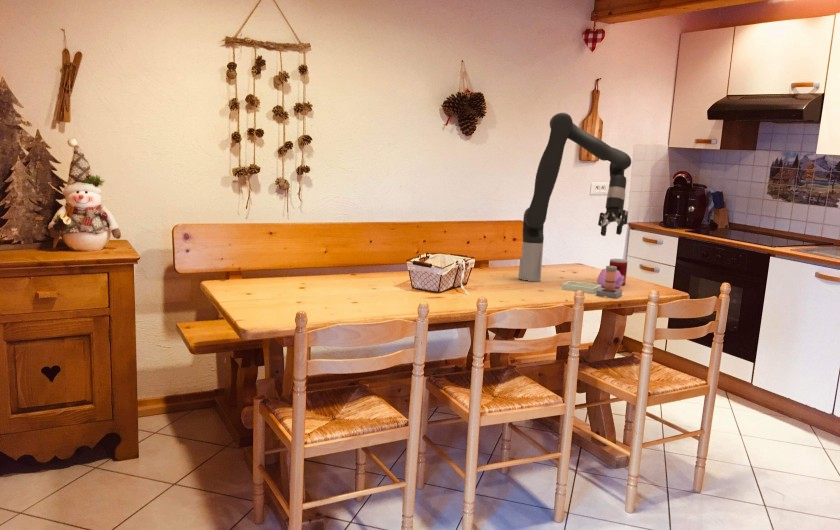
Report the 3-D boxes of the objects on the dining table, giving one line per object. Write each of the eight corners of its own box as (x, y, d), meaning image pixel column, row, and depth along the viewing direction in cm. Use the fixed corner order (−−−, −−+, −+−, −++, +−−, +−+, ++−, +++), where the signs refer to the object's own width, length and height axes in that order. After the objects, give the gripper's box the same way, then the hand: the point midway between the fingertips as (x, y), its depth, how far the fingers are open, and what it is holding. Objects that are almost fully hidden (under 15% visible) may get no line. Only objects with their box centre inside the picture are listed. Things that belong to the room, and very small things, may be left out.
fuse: (602, 295, 288) (604, 266, 286) (605, 294, 291) (607, 265, 289) (612, 297, 286) (615, 267, 284) (615, 295, 289) (618, 266, 287)
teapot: (609, 284, 317) (611, 264, 315) (631, 291, 303) (633, 270, 302) (590, 285, 313) (592, 264, 311) (611, 292, 299) (613, 271, 298)
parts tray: (561, 290, 298) (561, 283, 297) (569, 287, 306) (569, 280, 306) (593, 295, 291) (594, 288, 290) (600, 292, 299) (601, 285, 299)
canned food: (623, 282, 323) (625, 259, 321) (626, 286, 315) (629, 261, 313) (606, 281, 324) (608, 258, 322) (609, 285, 316) (611, 260, 314)
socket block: (593, 297, 286) (594, 291, 286) (601, 293, 295) (602, 287, 295) (616, 301, 282) (616, 294, 281) (623, 296, 291) (623, 290, 290)
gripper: (597, 198, 312) (592, 234, 309) (622, 194, 300) (617, 231, 297) (609, 203, 315) (604, 238, 313) (634, 199, 303) (629, 236, 301)
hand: (610, 234), depth 305 cm, fingers open, 8 cm apart
